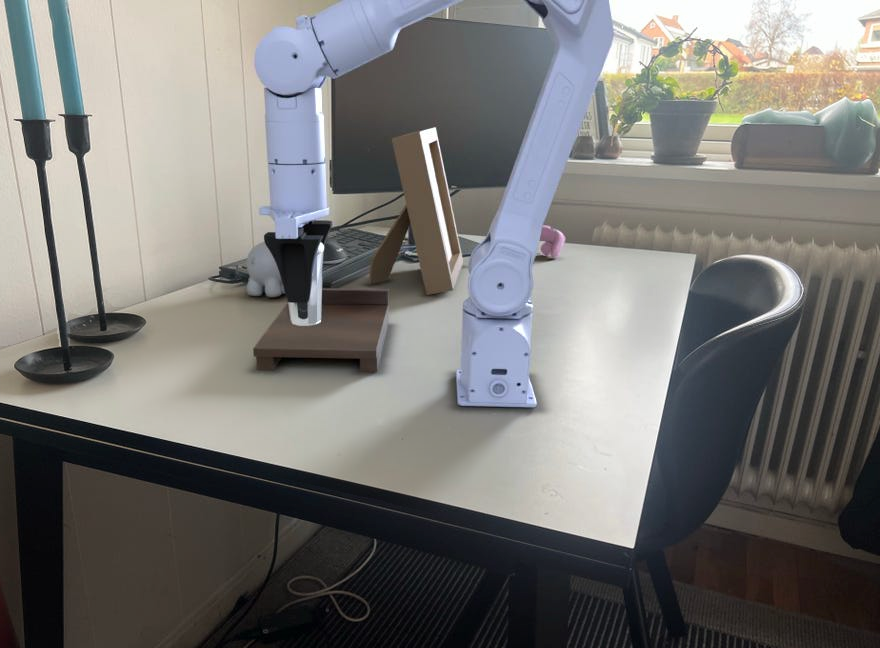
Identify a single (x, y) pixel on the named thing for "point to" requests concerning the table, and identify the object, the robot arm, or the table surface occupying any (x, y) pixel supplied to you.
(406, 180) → the photo frame
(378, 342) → the shelf
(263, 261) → the round bodied animal figurine
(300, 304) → the milkshake
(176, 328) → the table surface
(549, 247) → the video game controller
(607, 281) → the table surface
